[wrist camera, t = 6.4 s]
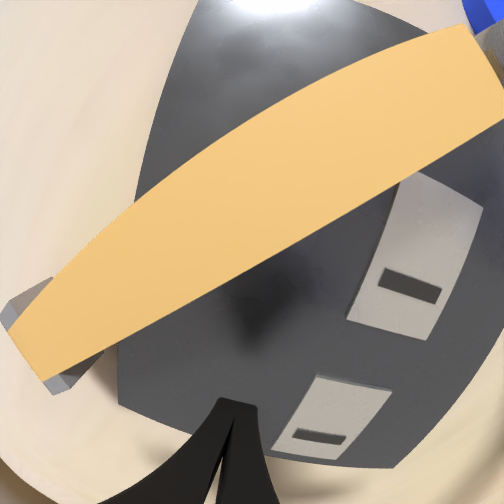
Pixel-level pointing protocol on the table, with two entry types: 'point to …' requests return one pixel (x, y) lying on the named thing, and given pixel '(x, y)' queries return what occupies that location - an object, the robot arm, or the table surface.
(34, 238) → the table surface
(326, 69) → the panel
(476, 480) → the table surface
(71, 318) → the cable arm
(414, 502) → the table surface
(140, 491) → the robot arm
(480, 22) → the bracket
